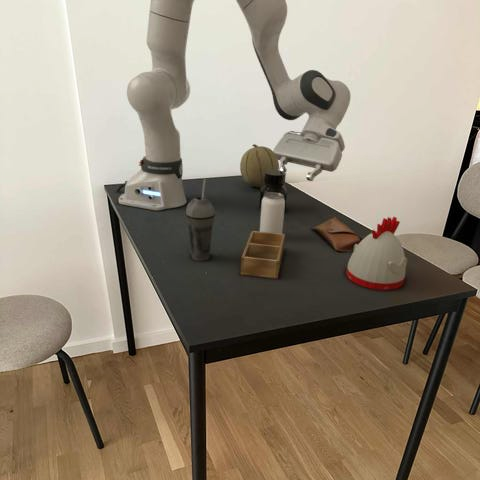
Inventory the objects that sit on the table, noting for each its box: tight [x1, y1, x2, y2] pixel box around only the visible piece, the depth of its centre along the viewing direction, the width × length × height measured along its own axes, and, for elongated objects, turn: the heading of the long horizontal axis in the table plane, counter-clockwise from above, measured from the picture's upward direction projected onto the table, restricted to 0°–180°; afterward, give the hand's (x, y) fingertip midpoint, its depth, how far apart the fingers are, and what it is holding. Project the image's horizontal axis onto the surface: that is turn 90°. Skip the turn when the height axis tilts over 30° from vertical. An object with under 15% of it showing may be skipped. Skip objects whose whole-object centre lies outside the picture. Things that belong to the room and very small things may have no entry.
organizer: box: [240, 230, 286, 279], centre depth 116 cm, size 9×17×5 cm, turn 171°
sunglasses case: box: [311, 215, 364, 253], centre depth 132 cm, size 18×7×7 cm
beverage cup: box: [185, 178, 216, 262], centre depth 113 cm, size 7×7×20 cm
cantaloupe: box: [239, 143, 280, 189], centre depth 170 cm, size 15×15×15 cm
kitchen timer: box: [345, 216, 408, 291], centre depth 109 cm, size 14×14×15 cm
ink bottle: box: [258, 170, 288, 211], centre depth 149 cm, size 10×9×12 cm
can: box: [259, 192, 285, 234], centre depth 129 cm, size 6×6×12 cm
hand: (294, 176), depth 131 cm, fingers open, 8 cm apart
